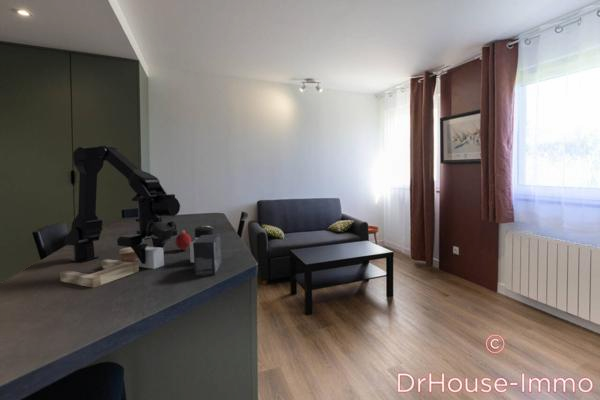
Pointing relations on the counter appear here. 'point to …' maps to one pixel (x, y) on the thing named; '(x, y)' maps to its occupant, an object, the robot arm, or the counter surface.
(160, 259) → the tall pale grey block
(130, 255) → the wooden spool
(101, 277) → the notched board
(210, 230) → the medicine bottle
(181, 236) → the onion
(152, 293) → the counter surface
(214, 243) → the small box
